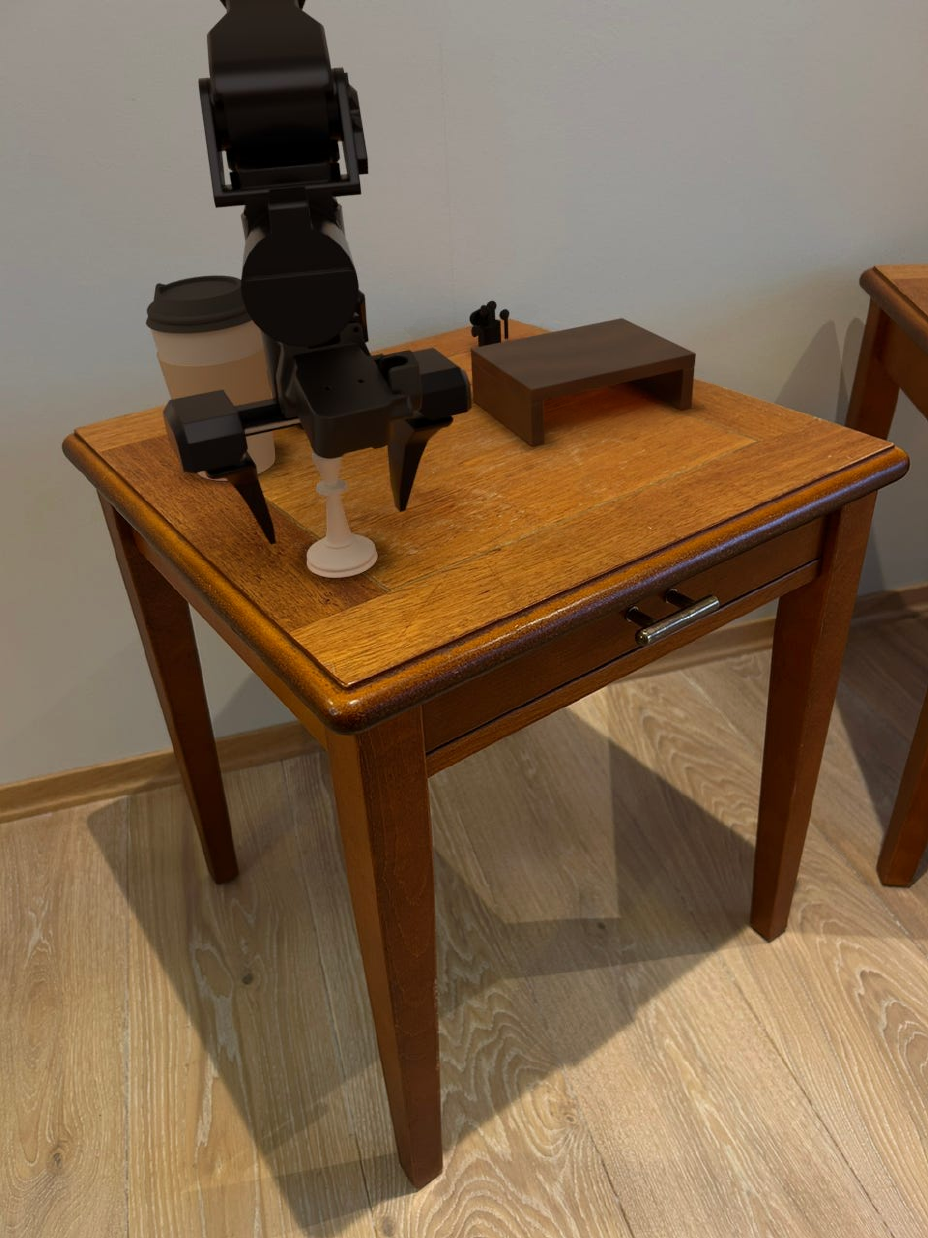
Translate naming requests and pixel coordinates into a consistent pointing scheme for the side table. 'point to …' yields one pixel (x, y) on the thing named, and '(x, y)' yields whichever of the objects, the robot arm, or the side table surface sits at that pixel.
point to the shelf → (576, 371)
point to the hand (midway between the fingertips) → (337, 525)
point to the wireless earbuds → (488, 324)
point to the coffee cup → (211, 348)
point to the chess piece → (337, 530)
